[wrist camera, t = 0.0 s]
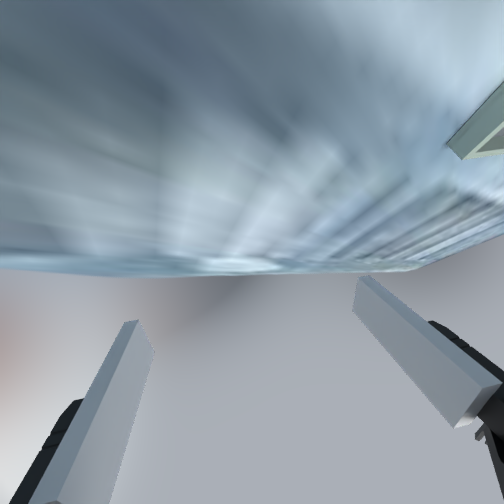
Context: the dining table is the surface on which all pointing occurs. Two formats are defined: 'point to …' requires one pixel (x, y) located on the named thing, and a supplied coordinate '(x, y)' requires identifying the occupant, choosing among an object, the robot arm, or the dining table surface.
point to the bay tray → (482, 130)
